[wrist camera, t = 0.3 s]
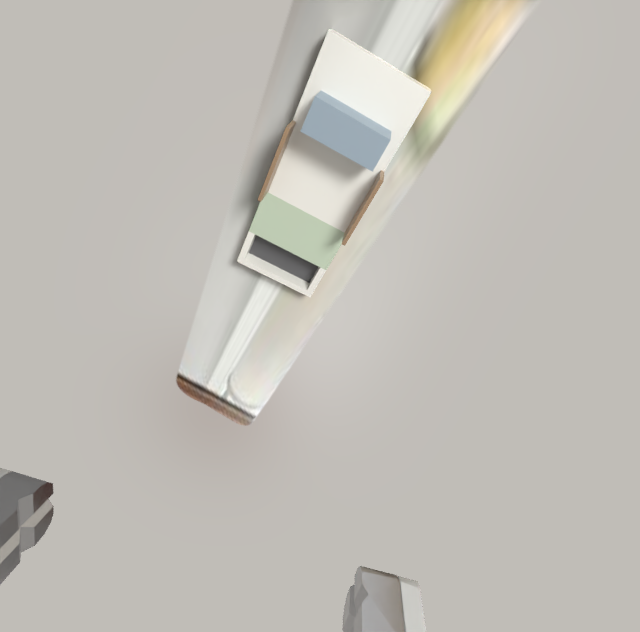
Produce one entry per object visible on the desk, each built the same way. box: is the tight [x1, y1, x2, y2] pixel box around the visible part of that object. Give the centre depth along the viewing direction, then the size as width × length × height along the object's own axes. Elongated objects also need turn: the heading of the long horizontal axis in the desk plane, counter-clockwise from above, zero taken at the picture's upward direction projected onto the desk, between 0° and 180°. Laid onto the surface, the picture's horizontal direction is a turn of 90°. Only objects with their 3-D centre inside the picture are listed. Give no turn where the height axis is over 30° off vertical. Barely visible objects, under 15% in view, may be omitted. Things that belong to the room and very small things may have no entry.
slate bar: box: [301, 91, 391, 172], centre depth 46 cm, size 4×10×4 cm, turn 65°
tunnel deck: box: [237, 29, 431, 297], centre depth 53 cm, size 33×13×6 cm, turn 155°
